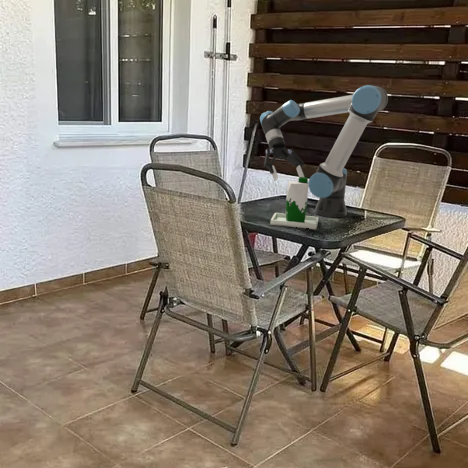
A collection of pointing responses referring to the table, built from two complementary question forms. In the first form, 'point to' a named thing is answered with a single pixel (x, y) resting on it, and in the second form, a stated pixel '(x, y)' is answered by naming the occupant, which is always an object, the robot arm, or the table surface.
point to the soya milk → (297, 200)
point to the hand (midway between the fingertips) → (289, 178)
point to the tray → (280, 220)
